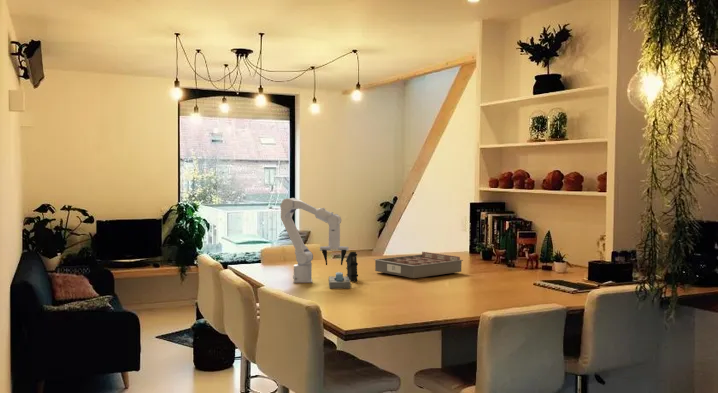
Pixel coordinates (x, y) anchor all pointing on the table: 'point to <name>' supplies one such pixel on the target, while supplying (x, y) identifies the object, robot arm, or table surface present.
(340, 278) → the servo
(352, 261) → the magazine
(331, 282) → the chassis
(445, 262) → the organizer tray
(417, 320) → the table surface
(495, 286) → the table surface
